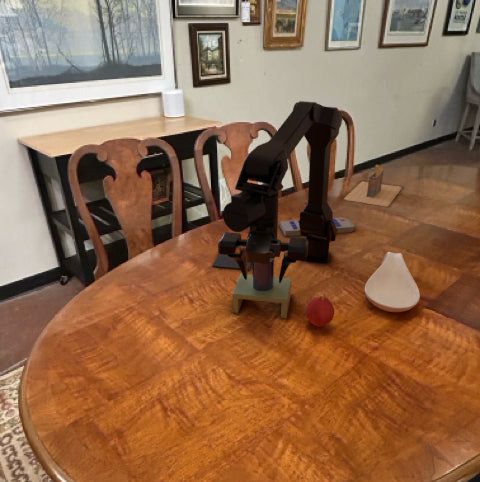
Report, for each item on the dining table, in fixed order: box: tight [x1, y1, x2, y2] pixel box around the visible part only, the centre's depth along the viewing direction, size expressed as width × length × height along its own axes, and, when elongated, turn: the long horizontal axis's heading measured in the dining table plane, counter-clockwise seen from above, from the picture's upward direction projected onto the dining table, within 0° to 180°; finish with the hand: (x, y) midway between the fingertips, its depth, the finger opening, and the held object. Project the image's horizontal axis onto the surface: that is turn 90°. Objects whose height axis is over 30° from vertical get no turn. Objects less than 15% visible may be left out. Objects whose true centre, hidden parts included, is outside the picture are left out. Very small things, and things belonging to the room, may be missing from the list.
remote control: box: [279, 217, 356, 237], centre depth 132 cm, size 8×23×2 cm, turn 96°
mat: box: [212, 253, 252, 271], centre depth 115 cm, size 10×10×1 cm
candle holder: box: [251, 258, 275, 291], centre depth 92 cm, size 5×5×7 cm
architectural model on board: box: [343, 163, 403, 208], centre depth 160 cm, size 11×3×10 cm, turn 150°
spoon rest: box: [364, 251, 421, 313], centre depth 99 cm, size 24×12×7 cm, turn 163°
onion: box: [305, 294, 335, 328], centre depth 87 cm, size 6×6×8 cm
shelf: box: [231, 273, 292, 319], centre depth 95 cm, size 12×9×5 cm
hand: (262, 280), depth 93 cm, fingers open, 7 cm apart
